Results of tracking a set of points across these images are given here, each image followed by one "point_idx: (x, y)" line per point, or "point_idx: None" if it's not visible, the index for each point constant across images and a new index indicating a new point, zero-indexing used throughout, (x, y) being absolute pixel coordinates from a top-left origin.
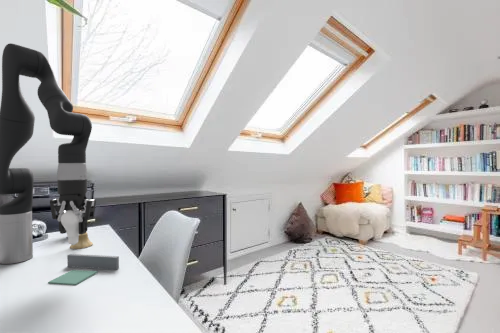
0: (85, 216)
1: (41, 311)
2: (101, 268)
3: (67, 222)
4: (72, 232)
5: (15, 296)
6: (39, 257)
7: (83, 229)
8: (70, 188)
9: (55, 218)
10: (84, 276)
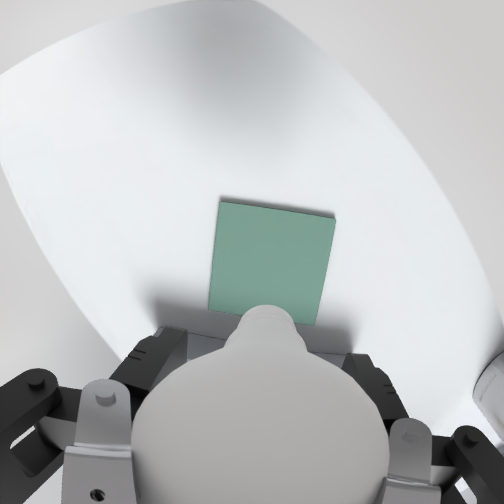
0: (31, 397)
1: (214, 47)
2: (216, 339)
3: (243, 357)
4: (240, 337)
5: (369, 127)
6: (458, 401)
7: (139, 347)
8: None
9: (453, 435)
10: (229, 265)
